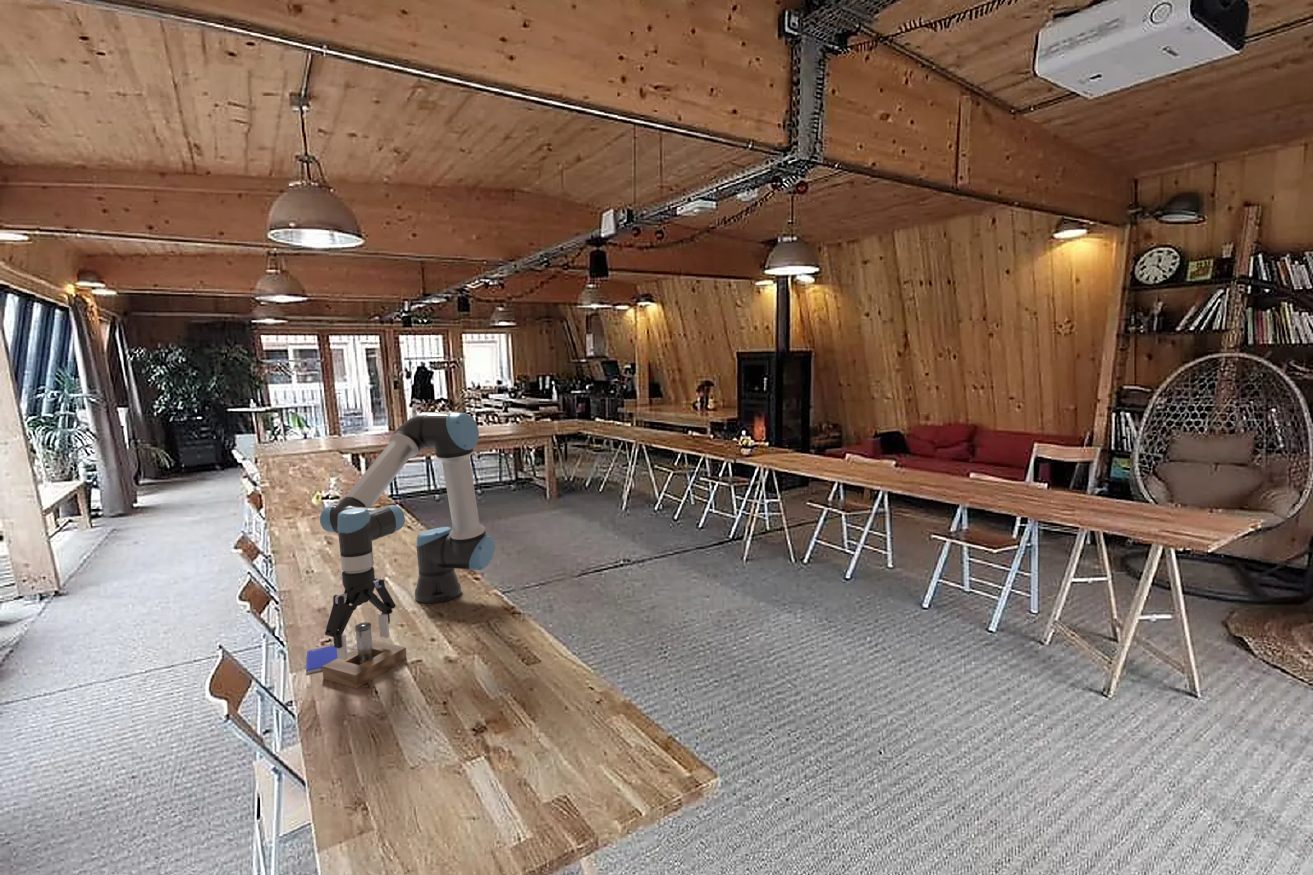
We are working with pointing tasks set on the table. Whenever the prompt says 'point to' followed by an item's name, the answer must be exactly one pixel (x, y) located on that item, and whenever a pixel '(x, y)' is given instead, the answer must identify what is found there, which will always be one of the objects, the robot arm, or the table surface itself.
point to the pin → (364, 642)
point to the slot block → (364, 665)
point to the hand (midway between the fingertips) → (364, 647)
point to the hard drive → (320, 658)
